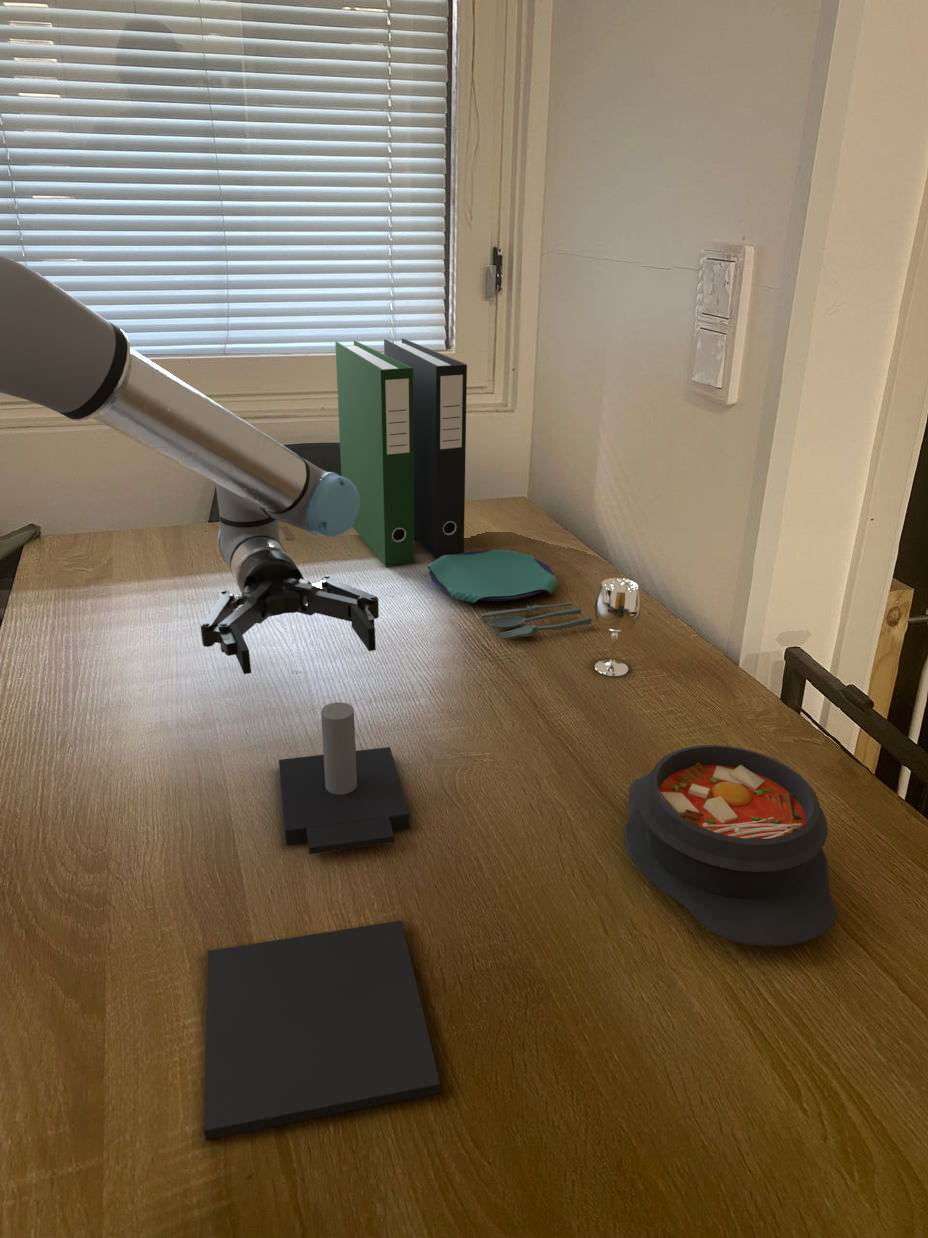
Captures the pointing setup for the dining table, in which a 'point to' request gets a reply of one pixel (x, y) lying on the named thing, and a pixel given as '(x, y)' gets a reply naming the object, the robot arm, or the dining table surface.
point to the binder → (404, 447)
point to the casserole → (734, 844)
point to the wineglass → (616, 617)
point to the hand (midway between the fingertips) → (310, 650)
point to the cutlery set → (501, 586)
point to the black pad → (313, 1029)
